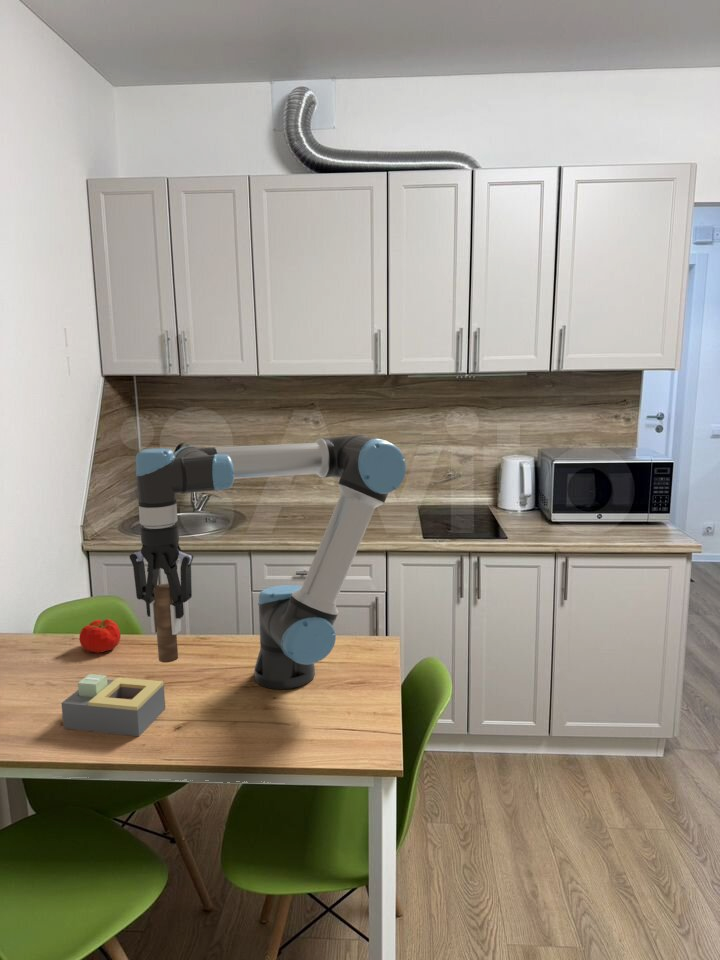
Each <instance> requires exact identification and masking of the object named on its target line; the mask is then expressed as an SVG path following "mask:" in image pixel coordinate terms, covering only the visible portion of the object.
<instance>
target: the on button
mask: <svg viewBox="0 0 720 960" xmlns="http://www.w3.org/2000/svg"><path fill="white" fill-rule="evenodd" d="M107 680H108V676H107V675H104V674H95V673H94V674H93V673H89V674H87V675H86V676H85V677H84V678H82V679H81V680H80V681H78V683H77V687H78V689H79V696H82V697H93V698H94V697H95V696H96V695H97V694H98V693H100V692H101V691H102V690H103V689H104V688H106V687H107V686H108V684H107ZM78 689H77V690H78Z"/></svg>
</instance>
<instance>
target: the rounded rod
mask: <svg viewBox="0 0 720 960" xmlns="http://www.w3.org/2000/svg"><path fill="white" fill-rule="evenodd" d="M154 601H155V615H156V629H157V632H156V639H157V640H156V641H157V656H158V662H161V663H166V664H167V663H172V662H175V661H177V660H178V659H179V651H178V649H179V648H178V636H177V634H178V633H177V634H176V635H172V625H171V610H170V605H171V604H172V603H174V602H173V599H172V595H171V591H170V587H169V583H160V584H157V585H156V586H155V587H154Z"/></svg>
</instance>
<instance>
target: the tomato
mask: <svg viewBox="0 0 720 960" xmlns="http://www.w3.org/2000/svg"><path fill="white" fill-rule="evenodd" d="M78 640H79V643H80V646H81V647H82V649H83V650H85V651H87V652H92V653H97V654H100V653H104V652H106V651H111V650H114V649H115V648H116V647H117V646H118V644H120V640H121V630H120V628H119V626H118V624H117V623H116V622H114V621H113V620H112V619H109V618H108V619H105V620H104V619H103V620H101V619H95V620H93V621H92V622H90V624H88V625H86V626H83V628H82V629H81V631H80V632H79V639H78Z"/></svg>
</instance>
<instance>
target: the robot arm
mask: <svg viewBox="0 0 720 960" xmlns="http://www.w3.org/2000/svg"><path fill="white" fill-rule="evenodd" d="M135 469H136V470H135V477H136V489H137V498H138V499H137V500H138V516H139V524H140V525H141V527H140V531H139V532H140V539H141V540H140V541H141V544H142V546H141V549H140V550H139V551H135V552H133V553H131V554H129V560H130V562H131V564H132V567H133V569H132V570H133V577H134V585H135V593H136V594H135V595H136V598H137V600H142V601H144V602H145V606H146V615H147V617H150V624H151V625H150V628H151V633H152V634H157V629H156V615H155V601H154V587H155V586H156V585H158V580H159V572H160V569H161V570H163V571H164V572H163V573H164V574H165V575H166V579H167V584H169V587H170V591H171V595H172V599H173V602H174V603H172V604H171V605H170V610H171V625H172V635H176V634H179V633H180V631H182V623H181V622H182V620H181V618H183V617H184V615H185V613H184V612H185V611H184V603H186V602H188V601H189V600H190V599H191V598H192V596H193V595H192V594H193V593H192V592H193V591H192V563H193V559H194V555H193V553H189V554H188V553H185V552H182V549H181V547H180V543H179V542H180V535H179V534H180V533H179V525H178V524H177V522H178V505H177V501H178V500H177V495H182V494H191V493H192V494H193V493H204V492H212V491H214V492H218V491H223V490H228V489H231V488H232V487H233V485H234V481H235V480H236V479H237V480H238V479H252V478H253V479H254V478H267V477H268V478H269V477H284V476H285V477H286V476H302V475H304V476H305V475H317V476H318V477H320V478H337V479H339V481H338V483H337V487H338V490H339V492H340V495H339V498H338V500H337V502H336V505H335V507H334V510H333V513H332V514H331V517H330V519H329V522H328V524H327V526H326V528H325V532H324V534H323V535H322V538H321V541H320V543H319V545H318V547H317V550H316V552H315V555H314V557H313V560H312V561H311V564H310V567H309V569H308V571H307V574H306V577H305V579H304V581H303V583H302V586H301V585H296V584H287V585H286V584H283V585H276V586H275V585H274V586H271V587H268V588H265V589H263V590H261V591H260V592H259V594H258V603H257V606H258V618H259V619H258V622H259V623H258V625H259V642H260V646H259V647H260V649H259V652H258V655H257V659H256V662H255V665H254V671H253V672H254V680H255V682H256V683H257V684H258V685H260V686H262V687H265V688H267V689H271V690H272V689H274V690H289V689H295V688H298V687H302V686H305V685H306V684H307V685H308V683H310V682H311V681H312V680H313V679H314V677H315V675H316V671H315V670H316V669H315V664H316V663H317V662H320V661H323V660H324V659H326V657H328V656H329V654H330V653H331V652H332V650H333V649H334V647H335V645H336V639H337V638H336V636H337V635H336V630H335V627H334V624H335V622H336V619H337V618H338V614H339V610H338V607H337V605H336V603H337V600H338V598H339V595H340V592H341V590H342V587H343V585H344V583H345V581H346V578H347V576H348V573H349V571H350V569H351V566H352V564H353V562H354V560H355V557H356V554H357V552H358V550H359V546H361V545H360V544H361V542H362V540H363V538H364V535H365V534H366V533H365V532H366V531H367V528H368V526H369V523H370V521H371V519H372V516H373V514H374V511H375V509H376V508H378V507H380V506H383V505H384V504H385V502H386V500H387V497H388V495H389V494H390V493H392V492H393V491H395V490H397V489H398V488H399V487H400V486H401V485H402V483H403V482H404V480H405V476H406V472H407V464H406V460H405V457H404V454H403V453H402V451H401V450H400V449H399V447H398V446H396V445H395V444H393V443H391V442H390V441H388V440H385V439H382V438H375V437H372V436H371V437H370V436H367V435H362V434H351V435H349V434H348V435H342V436H333V437H322V438H321V437H320V438H317V439H316V440H315V442H305V443H283V444H279V443H278V444H263V445H262V444H258V445H240V446H239V445H237V446H235V445H234V446H219V447H217V446H216V447H195V446H183V447H181V448H179V449H178V450H176V452H175V453H174V451H173V450H172V449H171V448H156V447H155V448H147V449H143V450H139V451H138V452H137V454H136V455H135ZM178 559H179V564H180V576H179V573H178V565H177V561H178ZM145 561H146V562H147V568H145ZM146 572H147V577H146ZM179 577H180V578H179Z"/></svg>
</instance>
